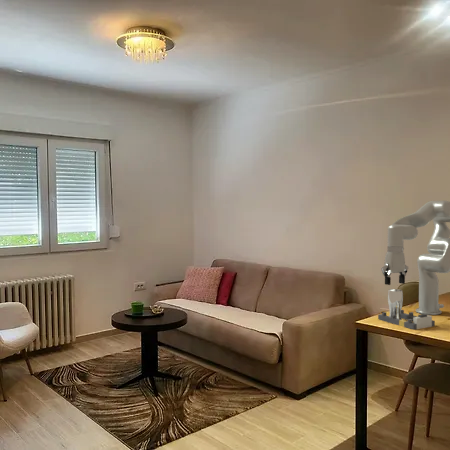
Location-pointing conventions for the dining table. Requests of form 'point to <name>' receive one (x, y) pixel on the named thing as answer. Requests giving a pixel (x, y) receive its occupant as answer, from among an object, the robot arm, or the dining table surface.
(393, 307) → the beer glass
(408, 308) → the dining table surface
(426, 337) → the dining table surface
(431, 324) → the cable comb
